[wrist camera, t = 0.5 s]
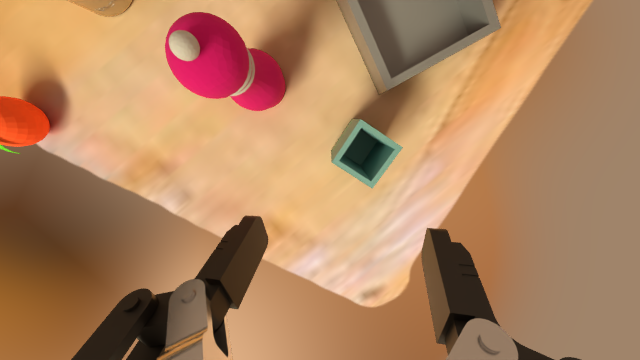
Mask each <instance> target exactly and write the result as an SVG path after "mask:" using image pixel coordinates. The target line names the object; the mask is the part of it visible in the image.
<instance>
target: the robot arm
mask: <svg viewBox="0 0 640 360" xmlns="http://www.w3.org/2000/svg"><path fill="white" fill-rule="evenodd" d="M67 1H70V2H72V3H74V4H76V5H78V6H81V7H83V8H85V9H87V10H90V11H92V12H94V13H96V14H99V15H102V16H115V15H119V14H121V13H122V12H124V11H125V10H126V9H127V8H128V7H129V6H130V4H131V2H132V1H133V0H67ZM267 245H268V236H267V233H266V230H265V227H264V224H263V221H262V218H261V217H260V216H244V217H243V219H242V220H241V222H240V223H239V225H235V226H233V227H232V228H231V229H230V230H229V231H227V232H226V234H225V235H224V237H223V238H222V240H221V242H220V243H219V244H218V246H217V247H216V250H214V252H213V253H212V254H211V256H210V257H209V259H208V260H207V262H206V263H205V265H204V266H203V268H202V269H201V270H200V272H199V273H198V275H197V276H196V278H195V279H192V280H189V281H186V282H184V283H183V284H181V285H180V286H179V287H178V288H177V289H176V290H175V291H172V292H168V293H162V294H157V295H154V294H153V293H152V292H151V291H150V290H148V289H138V290H136V291H133V292H131V293H130V294H128V295H127V296H125V297H124V298H123V299H122V300H121V301H120V302H119V303H118V304H117V305H116V307H115V308H114V309H113V310H112V311H111V313H110V314H109V315H108V316H107V317H106V319H105V320H104V321H103V322H102V324H101V325H100V326H99V327H98V328H97V329H96V331H95V332H94V333H93V334H92V336H91V337H90V338H89V339H88V340H87V341H86V343H85V344H84V345H83V346H82V348H81V349H80V350H79V351H78V352H77V354H76V355H75V356H74V357H73V358H72V360H122V358H123V357H124V355H125V354H126V352H127V351H128V350H129V348H130V347H131V345H132V344H133V342H134V341H135V339H136V338H137V339H138V340H139V341H138V343H137V344H136V346H135V347H134V349H133V350H132V352H131V353H130V355H129V356H128V358H127V359H126V360H233V358H232V351H231V344H230V336H229V329H228V322H227V317H226V313H227V311H228V309H229V308H233V309H238V308H239V306H240V304H241V302H242V300H243V297H244V295H245V293H246V291H247V289H248V287H249V284H250V282H251V280H252V278H253V276H254V274H255V272H256V269H257V267H258V265H259V263H260V261H261V259H262V257H263V254H264V252H265V250H266V248H267ZM422 265H423V271H424V276H425V282H426V287H427V293H428V298H429V303H430V309H431V314H432V320H433V325H434V331H435V336H436V342H437V343H439V344H445V345H446V348H447V353H448V357H447V358H446V360H554V359H551V358H549V357H547V356H545V355H542V354H540V353H538V352H536V351H533V350H531V349H529V348H527V347H525V346H523V345H521V344H519V343H518V342H516V341H515V340H514V339H512V338H511V337H510V336H509V335H508V334H507V332H506V331H504V330H503V329H502V328H501V327H500V325H499V324H498V322H497V321H496V319H495V317H494V314H493V311H492V309H491V306H490V304H489V301H488V299H487V296H486V293H485V291H484V288H483V286H482V283H481V281H480V278H478V273H477V270H476V268H475V266H474V263H473V260H472V258H471V255H470V253H469V252H468V251H467V250H466V249H465V247H464V246H463V245H462V244H461V243H456V242H451V240H450V237H449V234H448V231H447V230H446V229H433V228H427V230H426V234H425V239H424V243H423V248H422ZM560 360H580V359H577V358H571V357H565V358H562V359H560Z"/></svg>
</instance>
